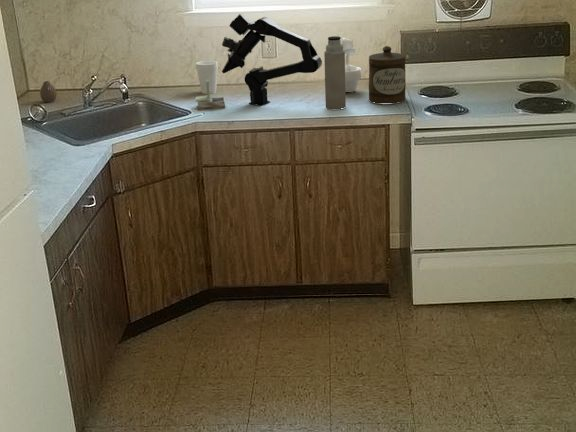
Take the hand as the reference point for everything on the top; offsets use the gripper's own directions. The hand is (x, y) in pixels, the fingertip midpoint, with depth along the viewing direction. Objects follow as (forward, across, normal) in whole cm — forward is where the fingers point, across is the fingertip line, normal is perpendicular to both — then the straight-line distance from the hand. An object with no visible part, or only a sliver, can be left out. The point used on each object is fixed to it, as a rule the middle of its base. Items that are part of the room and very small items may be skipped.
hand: (222, 72), depth 327 cm
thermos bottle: (-21, +16, +41) cm, 48 cm away
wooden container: (-36, +10, +56) cm, 68 cm away
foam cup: (+14, -26, +6) cm, 31 cm away
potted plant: (-28, -9, +48) cm, 56 cm away
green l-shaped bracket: (+14, 0, +1) cm, 14 cm away
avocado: (+63, -29, -44) cm, 82 cm away
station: (+14, 0, +6) cm, 15 cm away
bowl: (+16, 0, +4) cm, 16 cm away
